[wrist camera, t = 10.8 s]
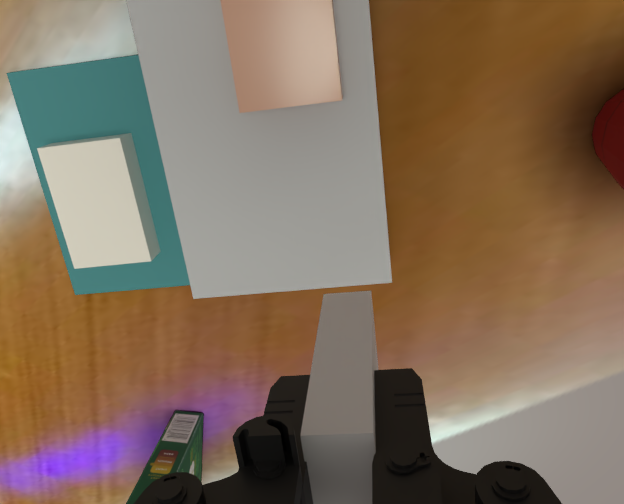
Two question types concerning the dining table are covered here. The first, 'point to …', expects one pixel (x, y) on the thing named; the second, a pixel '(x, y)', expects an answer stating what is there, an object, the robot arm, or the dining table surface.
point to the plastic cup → (611, 136)
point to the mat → (99, 123)
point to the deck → (264, 160)
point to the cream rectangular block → (100, 200)
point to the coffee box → (174, 451)
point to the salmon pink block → (282, 52)
